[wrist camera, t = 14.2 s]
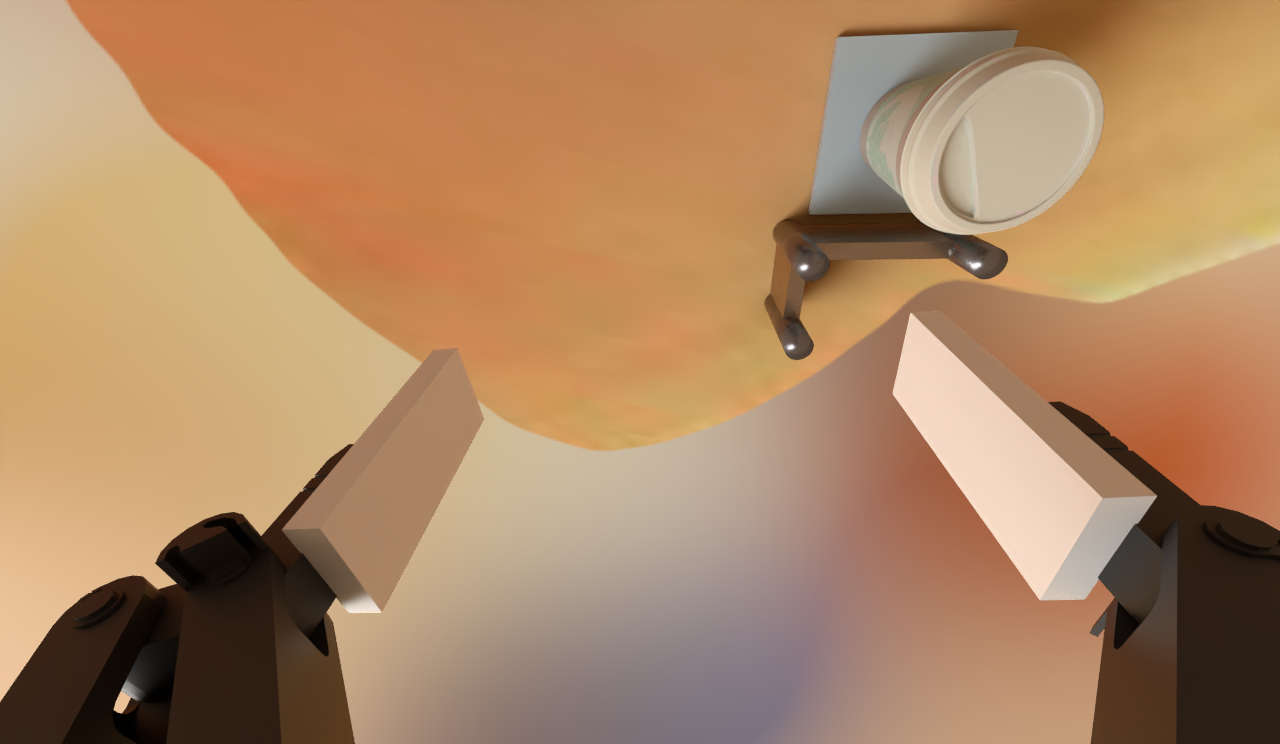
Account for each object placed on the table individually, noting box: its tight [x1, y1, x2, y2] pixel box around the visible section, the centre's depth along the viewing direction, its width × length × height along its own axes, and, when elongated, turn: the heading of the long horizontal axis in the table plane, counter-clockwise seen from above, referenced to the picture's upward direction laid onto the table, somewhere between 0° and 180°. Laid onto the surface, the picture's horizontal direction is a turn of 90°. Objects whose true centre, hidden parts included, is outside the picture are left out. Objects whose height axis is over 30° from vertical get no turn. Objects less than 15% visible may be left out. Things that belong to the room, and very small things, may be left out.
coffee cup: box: [860, 46, 1104, 235], centre depth 27 cm, size 9×9×12 cm
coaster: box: [808, 30, 1019, 215], centre depth 32 cm, size 11×11×1 cm
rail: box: [765, 220, 1008, 360], centre depth 34 cm, size 8×13×8 cm, turn 92°
